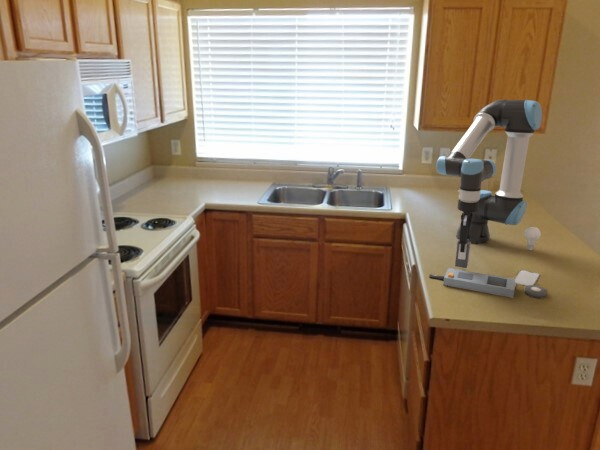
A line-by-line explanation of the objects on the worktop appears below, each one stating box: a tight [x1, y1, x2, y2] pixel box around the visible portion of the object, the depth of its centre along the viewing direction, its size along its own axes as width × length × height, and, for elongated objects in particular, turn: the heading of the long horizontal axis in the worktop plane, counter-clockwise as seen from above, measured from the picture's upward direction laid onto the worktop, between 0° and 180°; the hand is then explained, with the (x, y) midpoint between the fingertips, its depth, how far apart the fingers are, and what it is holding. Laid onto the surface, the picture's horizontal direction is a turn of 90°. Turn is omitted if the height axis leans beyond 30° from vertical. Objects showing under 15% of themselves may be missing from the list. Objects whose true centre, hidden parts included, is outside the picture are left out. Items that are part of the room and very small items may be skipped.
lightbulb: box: [524, 226, 542, 251], centre depth 206 cm, size 6×6×11 cm
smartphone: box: [513, 269, 541, 287], centre depth 179 cm, size 7×1×15 cm
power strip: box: [429, 267, 516, 299], centre depth 173 cm, size 10×30×4 cm, turn 64°
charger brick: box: [454, 239, 472, 269], centre depth 183 cm, size 4×5×10 cm
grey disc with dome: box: [524, 285, 548, 299], centre depth 166 cm, size 7×7×2 cm
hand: (462, 256), depth 184 cm, fingers closed on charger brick, 4 cm apart
